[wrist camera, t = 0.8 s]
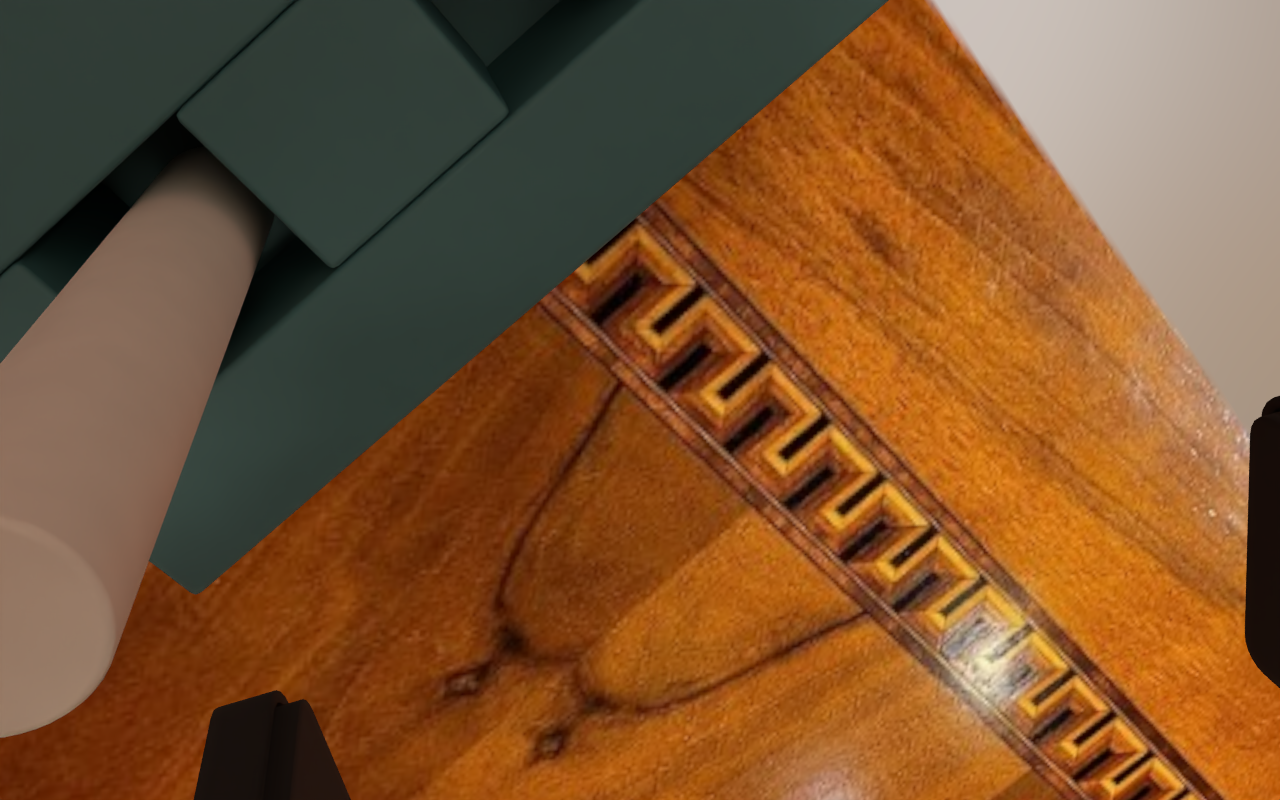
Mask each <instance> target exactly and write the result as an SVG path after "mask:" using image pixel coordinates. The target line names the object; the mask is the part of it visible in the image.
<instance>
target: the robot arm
mask: <svg viewBox="0 0 1280 800" xmlns="http://www.w3.org/2000/svg"><path fill="white" fill-rule="evenodd" d="M1245 640H1246V644H1247V648H1248V651H1249V653H1250V655H1251V657H1252V659H1253V661H1254V662H1255V664H1256V665H1257V667H1258V668H1259V669H1260V670H1261V671H1262V672H1263V674H1264V675H1266V676H1267V677H1268V678H1269V679H1270V680H1271V681H1272V682H1273V683H1274V684H1276V685H1277V686H1278V687H1279V688H1280V396H1278V397H1274V398H1272V399H1271V400H1270V401H1268V402H1267V403H1266V405H1265V407H1264V409H1263V411H1262V417H1260V418H1258V419H1256V420H1255V421H1254V423H1253V425H1252V427H1251V433H1250V461H1249V499H1248V536H1247V573H1246V610H1245ZM194 800H351V799H350V797H349V794H348V792H347V790H346V787H345V785H344V783H343V780H342V778H341V776H340V773H339V771H338V769H337V766H336V764H335V762H334V759H333V757H332V755H331V752H330V750H329V748H328V745H327V743H326V741H325V738H324V736H323V734H322V731H321V729H320V726H319V724H318V722H317V719H316V717H315V715H314V712H313V710H312V708H311V706H310V704H309V703H308V702H307V701H306V700H304V699H302V700H299V701H295V702H292V703H288V701H287V699H286V698H285V696H284V695H283V694H282V693H281V692H280V691H277V690H276V691H272V692H269V693H265V694H262V695H259V696H255V697H252V698H248V699H245V700H242V701H238V702H235V703H231V704H228V705H225V706H221V707H218V708H217V709H215V710H214V711H213V714H212V717H211V720H210V725H209V730H208V734H207V739H206V744H205V749H204V753H203V758H202V763H201V768H200V773H199V777H198V782H197V787H196V792H195V796H194Z"/></svg>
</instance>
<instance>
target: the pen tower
mask: <svg viewBox="0 0 1280 800" xmlns="http://www.w3.org/2000/svg"><path fill="white" fill-rule="evenodd" d="M887 1H888V0H0V363H1V362H2V361H3V360H4V359H5V357H6V356H7V355H8V354H9V353H10V352H11V350H12V349H13V348H14V347H15V346H16V344H17V343H18V342H19V341H20V340H21V338H22V337H23V336H24V335H25V334H26V332H27V331H28V330H29V329H30V328H31V326H32V325H33V324H34V323H35V322H36V320H37V319H38V318H39V317H40V316H41V314H42V313H43V312H44V311H45V310H46V309H47V307H48V306H49V305H50V304H51V303H52V301H53V300H54V299H55V298H56V297H57V295H58V294H59V293H60V292H61V291H62V289H63V288H64V287H65V286H66V285H67V283H68V282H69V281H70V280H71V279H72V277H73V276H74V275H75V274H76V273H77V271H78V270H79V269H80V268H81V267H82V265H83V264H84V263H85V262H86V261H87V260H88V258H89V257H90V256H91V255H92V254H93V252H94V251H95V250H96V249H97V248H98V246H99V245H100V244H101V243H102V242H103V240H104V239H105V238H106V237H107V236H108V234H109V233H110V232H111V231H112V230H113V228H114V227H115V226H116V225H117V224H118V222H119V221H120V220H121V219H122V218H123V217H124V215H125V214H126V213H127V212H128V211H129V209H130V208H131V207H132V206H133V205H134V203H135V202H136V201H137V200H138V199H139V197H140V196H141V195H142V194H143V193H144V191H145V190H146V189H147V188H148V187H149V185H150V184H151V183H152V182H153V181H154V179H155V178H156V177H157V176H158V175H159V174H160V172H161V171H162V170H163V169H164V168H165V166H166V165H167V164H168V163H169V162H170V161H171V160H172V159H174V158H175V157H176V156H178V155H179V154H181V153H183V152H185V151H187V150H190V149H193V148H197V147H206V148H207V149H208V150H209V151H210V152H211V153H212V154H213V155H214V156H215V157H216V158H217V159H218V160H219V161H220V162H221V163H222V164H223V165H224V166H225V167H226V168H227V169H228V170H230V171H231V172H232V173H233V174H234V175H235V176H236V177H237V178H238V179H239V180H240V181H241V182H242V183H243V184H244V185H245V186H246V187H247V188H248V189H249V190H250V191H251V192H252V193H253V194H254V195H255V196H256V197H257V198H258V199H259V200H260V201H261V202H262V203H263V204H264V205H265V206H266V207H268V208H269V209H270V210H271V211H272V212H273V213H274V219H273V223H272V226H271V228H270V231H269V234H268V237H267V239H266V242H265V245H264V248H263V250H262V253H261V256H260V259H259V261H258V264H257V267H256V269H255V272H254V275H253V278H252V280H251V283H250V286H249V289H248V291H247V294H246V297H245V299H244V302H243V305H242V308H241V310H240V313H239V316H238V319H237V321H236V324H235V327H234V330H233V332H232V335H231V338H230V340H229V343H228V346H227V349H226V351H225V354H224V357H223V360H222V362H221V365H220V368H219V370H218V373H217V376H216V379H215V381H214V384H213V387H212V390H211V392H210V395H209V398H208V401H207V403H206V406H205V409H204V411H203V414H202V417H201V420H200V422H199V425H198V428H197V431H196V433H195V436H194V439H193V441H192V444H191V447H190V450H189V452H188V455H187V458H186V461H185V463H184V466H183V469H182V472H181V474H180V477H179V480H178V482H177V485H176V488H175V491H174V493H173V496H172V499H171V502H170V504H169V507H168V510H167V512H166V515H165V518H164V521H163V523H162V526H161V529H160V532H159V534H158V537H157V540H156V543H155V545H154V548H153V551H152V553H151V556H150V559H149V561H150V562H151V563H153V564H154V565H155V566H157V567H158V568H159V569H161V570H162V571H163V572H164V573H166V574H167V575H168V576H170V577H171V578H172V579H174V580H175V581H176V582H178V583H179V584H180V585H181V586H183V587H184V588H185V589H187V590H188V591H189V592H191V593H193V594H198V593H200V592H202V591H203V590H204V589H205V588H207V587H208V586H209V585H210V584H211V583H212V582H214V581H215V580H216V579H217V578H218V577H219V576H221V575H222V574H223V573H224V572H225V571H226V570H228V569H229V568H230V567H231V566H232V565H233V564H235V563H236V562H237V561H238V560H239V559H240V558H241V557H243V556H244V555H245V554H246V553H247V552H248V551H250V550H251V549H252V548H253V547H254V546H255V545H257V544H258V543H259V542H260V541H261V540H262V539H264V538H265V537H266V536H267V535H268V534H269V533H271V532H272V531H273V530H274V529H275V528H276V527H277V526H279V525H280V524H281V523H282V522H283V521H284V520H286V519H287V518H288V517H289V516H290V515H291V514H293V513H294V512H295V511H296V510H297V509H298V508H300V507H301V506H302V505H303V504H304V503H305V502H307V501H308V500H309V499H310V498H311V497H312V496H313V495H315V494H316V493H317V492H318V491H319V490H320V489H322V488H323V487H324V486H325V485H326V484H327V483H329V482H330V481H331V480H332V479H333V478H334V477H336V476H337V475H338V474H339V473H340V472H341V471H343V470H344V469H345V468H346V467H347V466H348V465H349V464H351V463H352V462H353V461H354V460H355V459H356V458H358V457H359V456H360V455H361V454H362V453H363V452H365V451H366V450H367V449H368V448H369V447H370V446H372V445H373V444H374V443H375V442H376V441H377V440H379V439H380V438H381V437H382V436H383V435H384V434H385V433H387V432H388V431H389V430H390V429H391V428H392V427H394V426H395V425H396V424H397V423H398V422H399V421H401V420H402V419H403V418H404V417H405V416H406V415H408V414H409V413H410V412H411V411H412V410H413V409H415V408H416V407H417V406H418V405H419V404H420V403H421V402H423V401H424V400H425V399H426V398H427V397H428V396H430V395H431V394H432V393H433V392H434V391H435V390H437V389H438V388H439V387H440V386H441V385H442V384H444V383H445V382H446V381H447V380H448V379H449V378H451V377H452V376H453V375H454V374H455V373H456V372H457V371H459V370H460V369H461V368H462V367H463V366H464V365H466V364H467V363H468V362H469V361H470V360H471V359H473V358H474V357H475V356H476V355H477V354H478V353H480V352H481V351H482V350H483V349H484V348H485V347H487V346H488V345H489V344H490V343H491V342H492V341H493V340H495V339H496V338H497V337H498V336H499V335H500V334H502V333H503V332H504V331H505V330H506V329H507V328H509V327H510V326H511V325H512V324H513V323H514V322H516V321H517V320H518V319H519V318H520V317H521V316H523V315H524V314H525V313H526V312H527V311H528V310H529V309H531V308H532V307H533V306H534V305H535V304H536V303H538V302H539V301H540V300H541V299H542V298H543V297H545V296H546V295H547V294H548V293H549V292H550V291H552V290H553V289H554V288H555V287H556V286H557V285H559V284H560V283H561V282H562V281H563V280H564V279H565V278H567V277H568V276H569V275H570V274H571V273H572V272H574V271H575V270H576V269H577V268H578V267H579V266H581V265H582V264H583V263H584V262H585V261H586V260H588V259H589V258H590V257H591V256H592V255H593V254H595V253H596V252H597V251H598V250H599V249H600V248H601V247H603V246H604V245H605V244H606V243H607V242H608V241H610V240H611V239H612V238H613V237H614V236H615V235H617V234H618V233H619V232H620V231H621V230H622V229H624V228H625V227H626V226H627V225H628V224H629V223H631V222H632V221H633V220H634V219H635V218H636V217H637V216H639V215H640V214H641V213H642V212H643V211H644V210H646V209H647V208H648V207H649V206H650V205H651V204H653V203H654V202H655V201H656V200H657V199H658V198H660V197H661V196H662V195H663V194H664V193H665V192H667V191H668V190H669V189H670V188H671V187H672V186H673V185H675V184H676V183H677V182H678V181H679V180H680V179H682V178H683V177H684V176H685V175H686V174H687V173H689V172H690V171H691V170H692V169H693V168H694V167H696V166H697V165H698V164H699V163H700V162H701V161H703V160H704V159H705V158H706V157H707V156H708V155H709V154H711V153H712V152H713V151H714V150H715V149H716V148H718V147H719V146H720V145H721V144H722V143H723V142H725V141H726V140H727V139H728V138H729V137H730V136H732V135H733V134H734V133H735V132H736V131H737V130H739V129H740V128H741V127H742V126H743V125H744V124H745V123H747V122H748V121H749V120H750V119H751V118H752V117H754V116H755V115H756V114H757V113H758V112H759V111H761V110H762V109H763V108H764V107H765V106H766V105H768V104H769V103H770V102H771V101H772V100H773V99H775V98H776V97H777V96H778V95H779V94H780V93H781V92H783V91H784V90H785V89H786V88H787V87H788V86H790V85H791V84H792V83H793V82H794V81H795V80H797V79H798V78H799V77H800V76H801V75H802V74H804V73H805V72H806V71H807V70H808V69H809V68H810V67H812V66H813V65H814V64H815V63H816V62H817V61H819V60H820V59H821V58H822V57H823V56H824V55H826V54H827V53H828V52H829V51H830V50H831V49H833V48H834V47H835V46H836V45H837V44H838V43H840V42H841V41H842V40H843V39H844V38H845V37H846V36H848V35H849V34H850V33H851V32H852V31H853V30H855V29H856V28H857V27H858V26H859V25H860V24H862V23H863V22H864V21H865V20H866V19H867V18H869V17H870V16H871V15H872V14H873V13H874V12H876V11H877V10H878V9H879V8H880V7H881V6H882V5H884V4H885V3H886V2H887Z"/></svg>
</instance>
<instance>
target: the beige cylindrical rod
mask: <svg viewBox="0 0 1280 800" xmlns="http://www.w3.org/2000/svg"><path fill="white" fill-rule="evenodd" d="M273 219H274V213H273V212H272V211H271V210H270V209H269V208H268V207H266V206H265V205H264V204H263V203H262V202H261V201H260V200H259V199H258V198H257V197H256V196H255V195H254V194H253V193H252V192H251V191H250V190H249V189H248V188H247V187H246V186H245V185H244V184H243V183H242V182H241V181H240V180H239V179H238V178H237V177H236V176H235V175H234V174H233V173H232V172H231V171H230V170H228V169H227V168H226V167H225V166H224V165H223V164H222V163H221V162H220V161H219V160H218V159H217V158H216V157H215V156H214V155H213V154H212V153H211V152H210V151H209V150H208V149H207V148H206V147H197V148H193V149H190V150H187V151H185V152H183V153H181V154H179V155H178V156H176V157H175V158H174V159H172V160H171V161H170V162H169V163H168V164H167V165H166V166H165V168H164V169H163V170H162V171H161V172H160V174H159V175H158V176H157V177H156V178H155V179H154V181H153V182H152V183H151V184H150V185H149V187H148V188H147V189H146V190H145V191H144V193H143V194H142V195H141V196H140V197H139V199H138V200H137V201H136V202H135V203H134V205H133V206H132V207H131V208H130V209H129V211H128V212H127V213H126V214H125V215H124V217H123V218H122V219H121V220H120V221H119V222H118V224H117V225H116V226H115V227H114V228H113V230H112V231H111V232H110V233H109V234H108V236H107V237H106V238H105V239H104V240H103V242H102V243H101V244H100V245H99V246H98V248H97V249H96V250H95V251H94V252H93V254H92V255H91V256H90V257H89V258H88V260H87V261H86V262H85V263H84V264H83V265H82V267H81V268H80V269H79V270H78V271H77V273H76V274H75V275H74V276H73V277H72V279H71V280H70V281H69V282H68V283H67V285H66V286H65V287H64V288H63V289H62V291H61V292H60V293H59V294H58V295H57V297H56V298H55V299H54V300H53V301H52V303H51V304H50V305H49V306H48V307H47V309H46V310H45V311H44V312H43V313H42V314H41V316H40V317H39V318H38V319H37V320H36V322H35V323H34V324H33V325H32V326H31V328H30V329H29V330H28V331H27V332H26V334H25V335H24V336H23V337H22V338H21V340H20V341H19V342H18V343H17V344H16V346H15V347H14V348H13V349H12V350H11V352H10V353H9V354H8V355H7V356H6V357H5V359H4V360H3V361H2V362H1V363H0V738H1V737H7V736H12V735H17V734H22V733H25V732H28V731H32V730H35V729H38V728H40V727H42V726H45V725H47V724H49V723H52V722H54V721H55V720H57V719H59V718H61V717H62V716H64V715H66V714H67V713H69V712H70V711H72V710H73V709H74V708H76V707H77V706H78V705H80V704H81V703H82V702H83V701H85V700H86V699H87V698H88V697H89V696H90V695H91V694H92V693H93V692H94V691H95V689H96V688H97V687H98V685H99V684H100V683H101V681H102V680H103V679H104V677H105V675H106V673H107V671H108V669H109V667H110V665H111V663H112V660H113V657H114V654H115V652H116V649H117V646H118V644H119V641H120V638H121V635H122V633H123V630H124V627H125V624H126V622H127V619H128V616H129V614H130V611H131V608H132V605H133V603H134V600H135V597H136V594H137V592H138V589H139V586H140V583H141V581H142V578H143V575H144V573H145V570H146V567H147V564H148V562H149V559H150V556H151V553H152V551H153V548H154V545H155V543H156V540H157V537H158V534H159V532H160V529H161V526H162V523H163V521H164V518H165V515H166V512H167V510H168V507H169V504H170V502H171V499H172V496H173V493H174V491H175V488H176V485H177V482H178V480H179V477H180V474H181V472H182V469H183V466H184V463H185V461H186V458H187V455H188V452H189V450H190V447H191V444H192V441H193V439H194V436H195V433H196V431H197V428H198V425H199V422H200V420H201V417H202V414H203V411H204V409H205V406H206V403H207V401H208V398H209V395H210V392H211V390H212V387H213V384H214V381H215V379H216V376H217V373H218V370H219V368H220V365H221V362H222V360H223V357H224V354H225V351H226V349H227V346H228V343H229V340H230V338H231V335H232V332H233V330H234V327H235V324H236V321H237V319H238V316H239V313H240V310H241V308H242V305H243V302H244V299H245V297H246V294H247V291H248V289H249V286H250V283H251V280H252V278H253V275H254V272H255V269H256V267H257V264H258V261H259V259H260V256H261V253H262V250H263V248H264V245H265V242H266V239H267V237H268V234H269V231H270V228H271V226H272V223H273Z"/></svg>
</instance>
